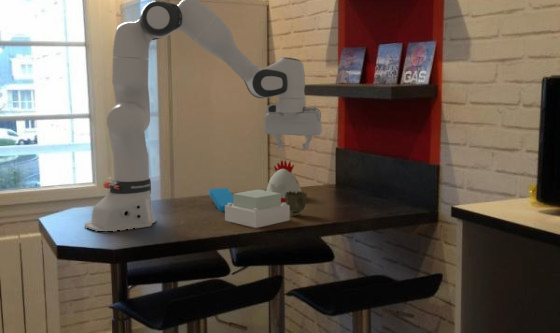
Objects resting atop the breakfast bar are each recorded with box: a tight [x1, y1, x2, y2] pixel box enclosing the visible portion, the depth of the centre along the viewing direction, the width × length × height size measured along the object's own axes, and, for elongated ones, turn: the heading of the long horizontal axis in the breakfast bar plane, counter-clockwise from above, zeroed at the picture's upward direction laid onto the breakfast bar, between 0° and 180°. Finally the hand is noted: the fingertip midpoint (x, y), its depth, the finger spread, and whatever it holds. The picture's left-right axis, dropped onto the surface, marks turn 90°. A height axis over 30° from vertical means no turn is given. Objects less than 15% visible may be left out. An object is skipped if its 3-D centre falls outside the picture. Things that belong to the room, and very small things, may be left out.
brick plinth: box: [224, 189, 291, 229], centre depth 209 cm, size 15×15×9 cm
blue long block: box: [208, 187, 233, 213], centre depth 234 cm, size 7×7×18 cm
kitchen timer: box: [266, 160, 302, 203], centre depth 247 cm, size 14×14×15 cm
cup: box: [285, 190, 307, 217], centre depth 216 cm, size 8×7×8 cm
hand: (293, 148), depth 214 cm, fingers open, 8 cm apart
